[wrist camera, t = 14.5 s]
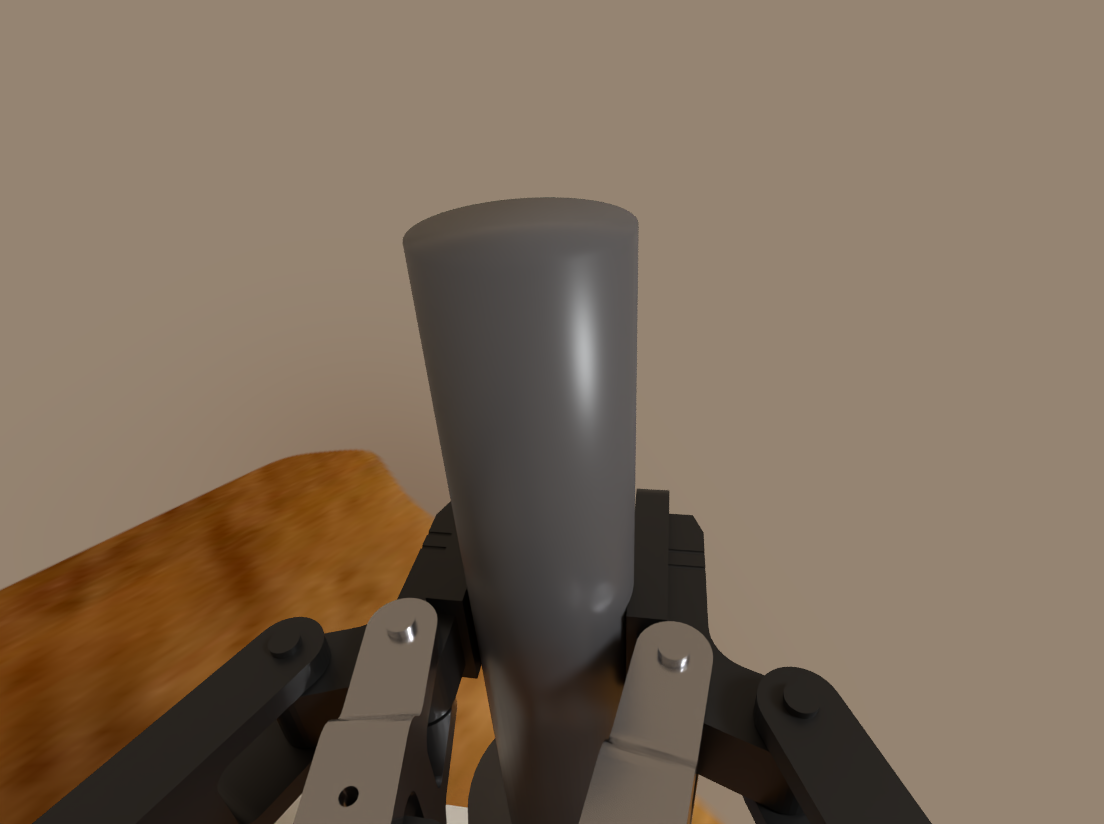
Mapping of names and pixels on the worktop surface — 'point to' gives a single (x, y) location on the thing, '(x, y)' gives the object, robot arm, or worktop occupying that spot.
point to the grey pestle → (537, 474)
